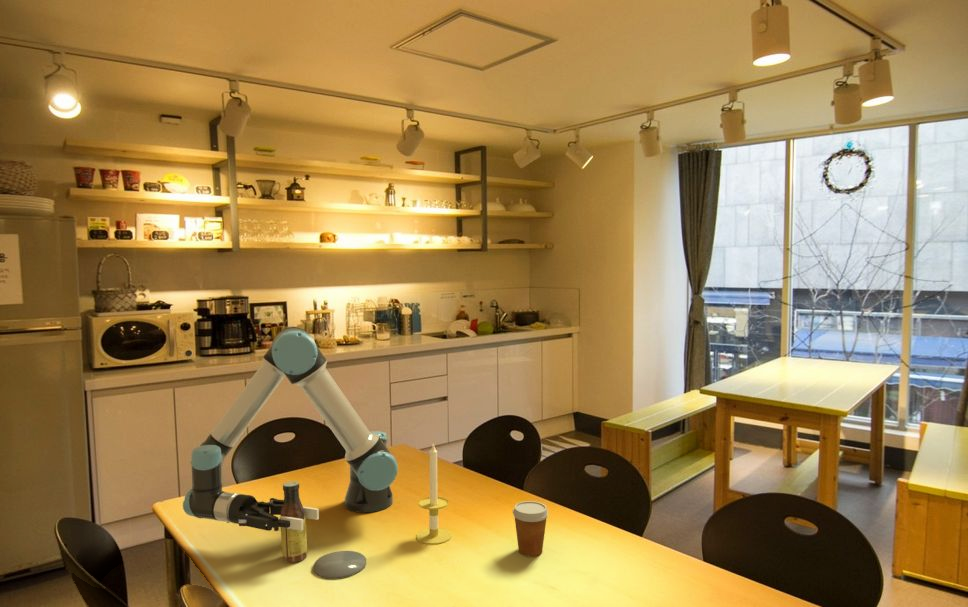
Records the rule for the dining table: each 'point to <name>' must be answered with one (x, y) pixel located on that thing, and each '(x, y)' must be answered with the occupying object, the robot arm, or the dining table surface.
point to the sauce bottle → (293, 539)
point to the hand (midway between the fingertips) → (310, 519)
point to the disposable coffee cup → (530, 526)
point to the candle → (433, 508)
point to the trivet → (339, 564)
